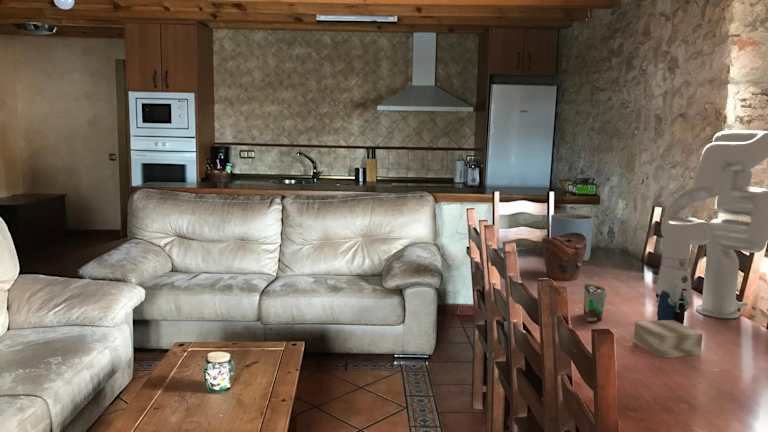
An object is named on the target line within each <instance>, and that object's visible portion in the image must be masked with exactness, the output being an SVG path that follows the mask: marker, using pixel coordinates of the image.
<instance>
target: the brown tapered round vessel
mask: <svg viewBox="0 0 768 432" xmlns="http://www.w3.org/2000/svg"><path fill="white" fill-rule="evenodd" d="M540 247H541V248H542V252H543V254H542V255H543V260H544V267H545V275H546V277H547V278H549V279H552V280H558V281H559V280H560V281H574V280H578V278H579V277H580V274H581V270H582V267H583V262H584V260H583V259H584V255H585V252H586V250H587V239H586V237H585V236H584V235H582V234H580V233H567V234H563V235H559V236H555V237H552V238H551V237H543V238H542V239H541V244H540Z"/></svg>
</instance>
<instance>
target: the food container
mask: <svg viewBox="0 0 768 432" xmlns="http://www.w3.org/2000/svg"><path fill="white" fill-rule="evenodd" d="M607 298H608V292H607V290H606V288H605V287H603V286H601V285H598V284H594V283H593V284H592V283H584V296H583V313H582V314H583V316H584V318H585V321H586V323H587V324H596V323H600V322H602V321H603V313H604V307H605V300H606V299H607Z"/></svg>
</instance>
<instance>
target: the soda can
mask: <svg viewBox="0 0 768 432" xmlns="http://www.w3.org/2000/svg"><path fill="white" fill-rule="evenodd" d="M679 301H682V299H679ZM658 304H659V307H658V306H657V309H658V316H657V320H656V321H660V320H673V318H674V311H676V309H675V305H674V304H675V302H673V301H672V299H671V297H670V295H669V293H666V292H663V291H662V292H661V294H660V296H659V303H658ZM678 304H679V307H680V306H681V305H682V303H678Z"/></svg>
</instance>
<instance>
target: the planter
mask: <svg viewBox="0 0 768 432" xmlns="http://www.w3.org/2000/svg"><path fill="white" fill-rule="evenodd" d="M594 218H595V217H594V216H592V215H587V214H581V213H580V214H578V213H553V214H551V216H550V238H552V237H555V236H559V235H563V234H567V233H580V234H582V235H584V236H585V237H586V239H587V250H586V252H585V255H584V259H583V262H584V261H586V262H589V259H590V257H591V249H592V240H593V230H594Z"/></svg>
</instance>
